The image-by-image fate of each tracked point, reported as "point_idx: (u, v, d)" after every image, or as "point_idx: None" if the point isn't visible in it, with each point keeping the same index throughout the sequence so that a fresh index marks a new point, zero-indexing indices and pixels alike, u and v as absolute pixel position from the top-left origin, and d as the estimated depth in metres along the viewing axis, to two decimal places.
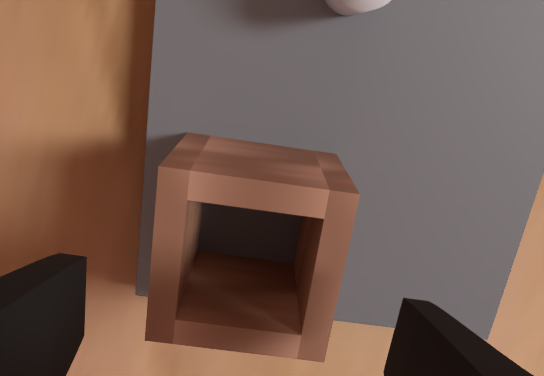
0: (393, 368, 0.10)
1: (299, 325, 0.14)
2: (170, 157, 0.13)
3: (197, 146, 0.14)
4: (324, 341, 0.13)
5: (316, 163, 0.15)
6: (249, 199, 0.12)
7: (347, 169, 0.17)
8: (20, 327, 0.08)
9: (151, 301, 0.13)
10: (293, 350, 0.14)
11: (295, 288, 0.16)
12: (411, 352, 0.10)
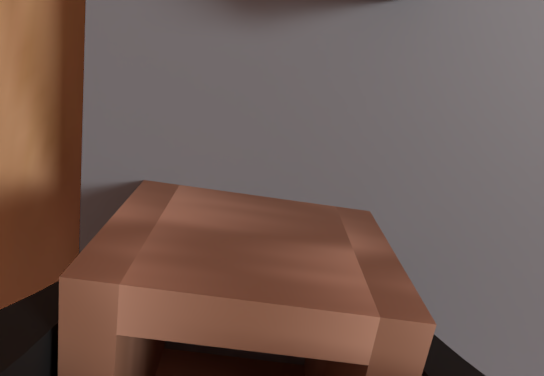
0: None
1: None
2: (93, 246, 0.07)
3: (151, 212, 0.09)
4: None
5: (344, 238, 0.09)
6: (232, 334, 0.07)
7: (386, 233, 0.11)
8: None
9: None
10: None
11: None
12: None
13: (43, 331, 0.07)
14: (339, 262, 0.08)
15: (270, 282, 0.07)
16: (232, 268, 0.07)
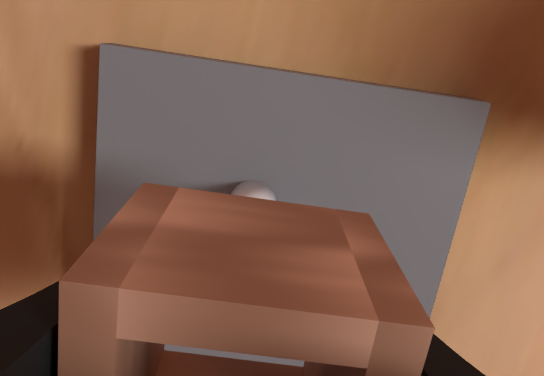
0: None
1: None
2: (93, 250, 0.07)
3: (151, 215, 0.09)
4: None
5: (343, 241, 0.09)
6: (231, 338, 0.07)
7: None
8: None
9: None
10: None
11: None
12: None
13: (43, 331, 0.07)
14: (338, 265, 0.08)
15: (269, 285, 0.07)
16: (231, 271, 0.07)
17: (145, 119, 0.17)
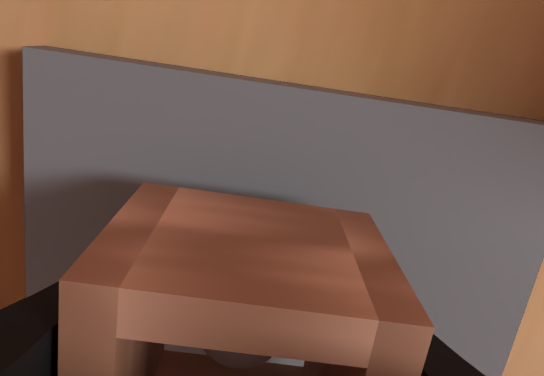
0: None
1: None
2: (93, 249, 0.07)
3: (151, 215, 0.09)
4: None
5: (343, 240, 0.09)
6: (231, 337, 0.07)
7: None
8: None
9: None
10: None
11: None
12: None
13: (43, 331, 0.07)
14: (338, 265, 0.08)
15: (269, 285, 0.07)
16: (232, 271, 0.07)
17: (92, 154, 0.12)
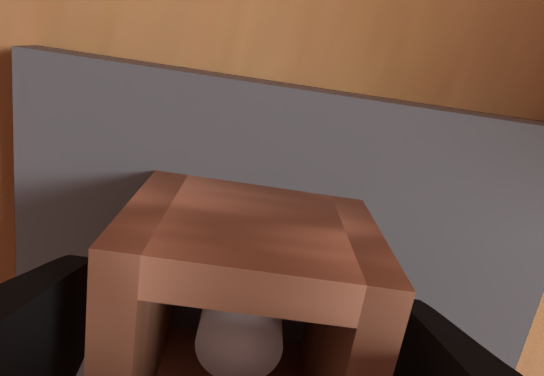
0: None
1: None
2: (115, 225, 0.08)
3: (164, 197, 0.10)
4: None
5: (338, 222, 0.10)
6: (237, 300, 0.08)
7: None
8: (33, 328, 0.08)
9: None
10: None
11: None
12: (401, 351, 0.10)
13: None
14: (333, 241, 0.09)
15: (271, 256, 0.08)
16: (238, 244, 0.08)
17: (84, 158, 0.11)
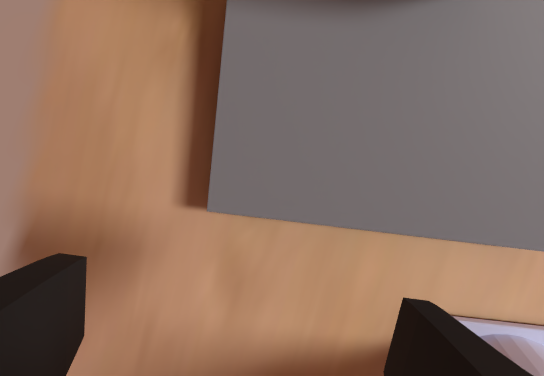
0: (393, 368, 0.10)
1: None
2: None
3: None
4: None
5: None
6: None
7: (416, 78, 0.17)
8: (20, 327, 0.08)
9: None
10: None
11: None
12: (411, 352, 0.10)
13: None
14: None
15: None
16: None
17: None
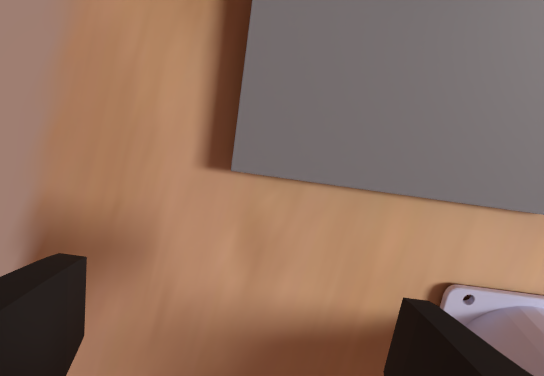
0: (393, 368, 0.10)
1: None
2: None
3: None
4: None
5: None
6: None
7: (450, 34, 0.17)
8: (20, 327, 0.08)
9: None
10: None
11: None
12: (411, 352, 0.10)
13: None
14: None
15: None
16: None
17: None
